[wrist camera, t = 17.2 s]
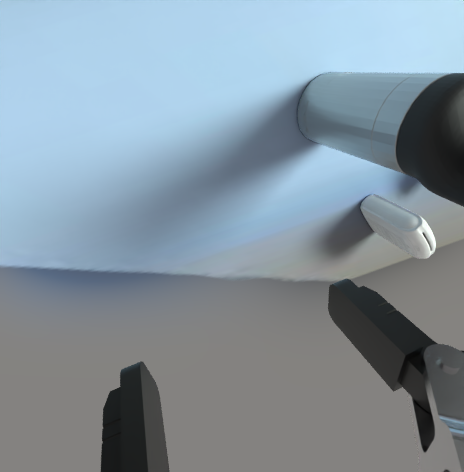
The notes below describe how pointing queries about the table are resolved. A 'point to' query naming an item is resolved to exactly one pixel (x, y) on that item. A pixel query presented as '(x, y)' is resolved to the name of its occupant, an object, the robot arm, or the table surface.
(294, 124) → the table surface
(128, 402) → the robot arm
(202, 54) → the table surface
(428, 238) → the white rounded box
